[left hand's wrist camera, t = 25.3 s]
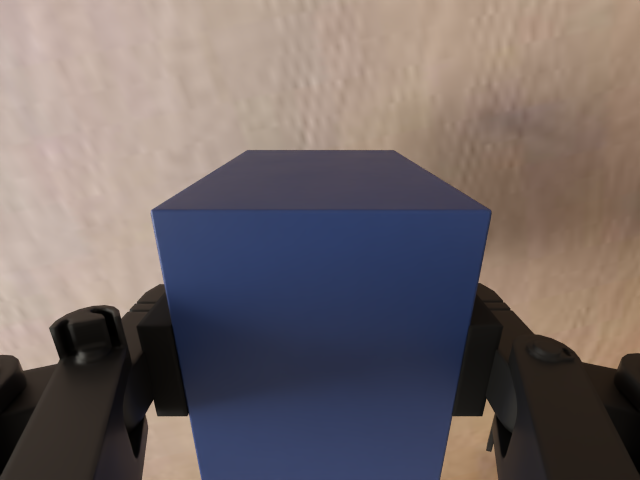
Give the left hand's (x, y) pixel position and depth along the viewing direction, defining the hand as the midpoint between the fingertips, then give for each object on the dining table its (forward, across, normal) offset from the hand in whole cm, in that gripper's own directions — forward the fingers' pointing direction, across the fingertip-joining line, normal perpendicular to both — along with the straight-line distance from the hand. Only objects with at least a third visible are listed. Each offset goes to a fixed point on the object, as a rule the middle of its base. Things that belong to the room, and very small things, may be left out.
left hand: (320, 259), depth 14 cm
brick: (+3, 0, 0) cm, 3 cm away
